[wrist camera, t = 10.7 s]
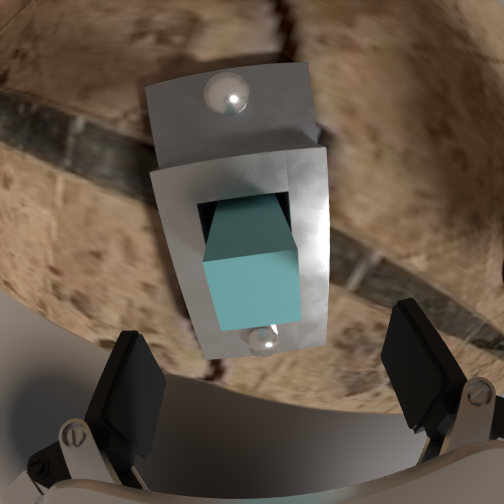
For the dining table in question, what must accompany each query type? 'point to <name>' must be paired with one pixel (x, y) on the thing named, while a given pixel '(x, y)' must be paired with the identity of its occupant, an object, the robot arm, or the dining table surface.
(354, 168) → the dining table surface
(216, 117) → the grey slotted base
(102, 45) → the dining table surface
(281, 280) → the pin
